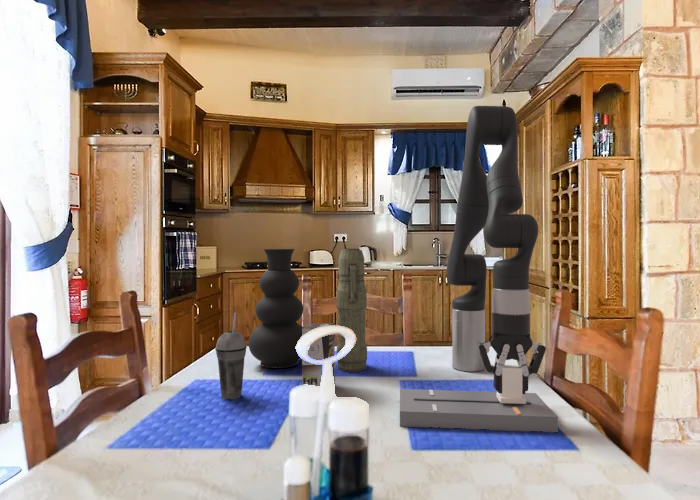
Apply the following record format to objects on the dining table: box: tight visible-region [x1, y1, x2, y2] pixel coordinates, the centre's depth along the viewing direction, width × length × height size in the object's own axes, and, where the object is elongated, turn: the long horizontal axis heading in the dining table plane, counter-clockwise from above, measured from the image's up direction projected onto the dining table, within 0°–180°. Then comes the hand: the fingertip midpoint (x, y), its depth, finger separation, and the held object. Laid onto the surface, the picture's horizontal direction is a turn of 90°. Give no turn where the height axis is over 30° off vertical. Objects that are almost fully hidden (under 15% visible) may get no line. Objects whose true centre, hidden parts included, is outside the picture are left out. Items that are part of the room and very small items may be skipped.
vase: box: [248, 248, 305, 369], centre depth 136 cm, size 18×18×35 cm
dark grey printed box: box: [301, 322, 336, 386], centre depth 112 cm, size 9×6×16 cm
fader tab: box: [495, 364, 526, 404], centre depth 94 cm, size 4×5×7 cm
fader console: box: [399, 388, 559, 433], centre depth 95 cm, size 14×30×3 cm, turn 84°
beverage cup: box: [215, 312, 248, 400], centre depth 108 cm, size 7×7×20 cm
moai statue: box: [336, 248, 368, 373], centre depth 132 cm, size 9×12×35 cm
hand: (510, 392), depth 94 cm, fingers closed on fader tab, 4 cm apart
